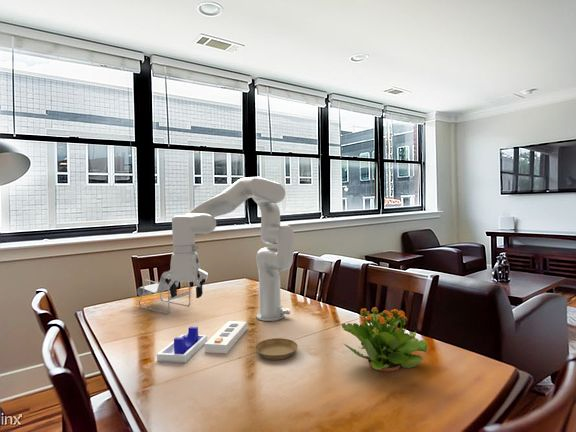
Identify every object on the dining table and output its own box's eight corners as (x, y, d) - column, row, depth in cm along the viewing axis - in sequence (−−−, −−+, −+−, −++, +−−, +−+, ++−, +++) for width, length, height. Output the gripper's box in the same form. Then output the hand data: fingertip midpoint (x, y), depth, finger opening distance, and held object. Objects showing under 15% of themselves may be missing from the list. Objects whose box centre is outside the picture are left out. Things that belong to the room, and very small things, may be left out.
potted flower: (411, 394, 96) (410, 329, 95) (330, 373, 108) (329, 316, 108) (429, 358, 117) (429, 305, 116) (360, 344, 130) (359, 296, 129)
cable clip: (187, 342, 134) (186, 326, 133) (198, 343, 133) (197, 327, 133) (170, 356, 122) (169, 338, 122) (182, 356, 121) (181, 339, 121)
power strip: (247, 328, 148) (247, 320, 148) (226, 353, 124) (226, 343, 124) (228, 328, 149) (228, 319, 149) (205, 352, 126) (204, 342, 126)
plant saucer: (249, 349, 128) (249, 342, 128) (287, 342, 134) (287, 335, 134) (263, 366, 114) (263, 358, 114) (304, 357, 120) (304, 350, 120)
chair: (169, 314, 171) (168, 273, 170) (137, 306, 184) (135, 268, 183) (191, 306, 182) (190, 268, 181) (159, 300, 195) (157, 264, 194)
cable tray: (207, 341, 135) (207, 335, 135) (185, 363, 118) (184, 355, 117) (182, 340, 137) (182, 334, 137) (157, 361, 119) (156, 354, 119)
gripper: (211, 248, 131) (213, 294, 131) (167, 248, 134) (169, 293, 135) (202, 251, 123) (204, 300, 124) (156, 251, 126) (158, 299, 127)
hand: (186, 296), depth 129 cm, fingers open, 9 cm apart
